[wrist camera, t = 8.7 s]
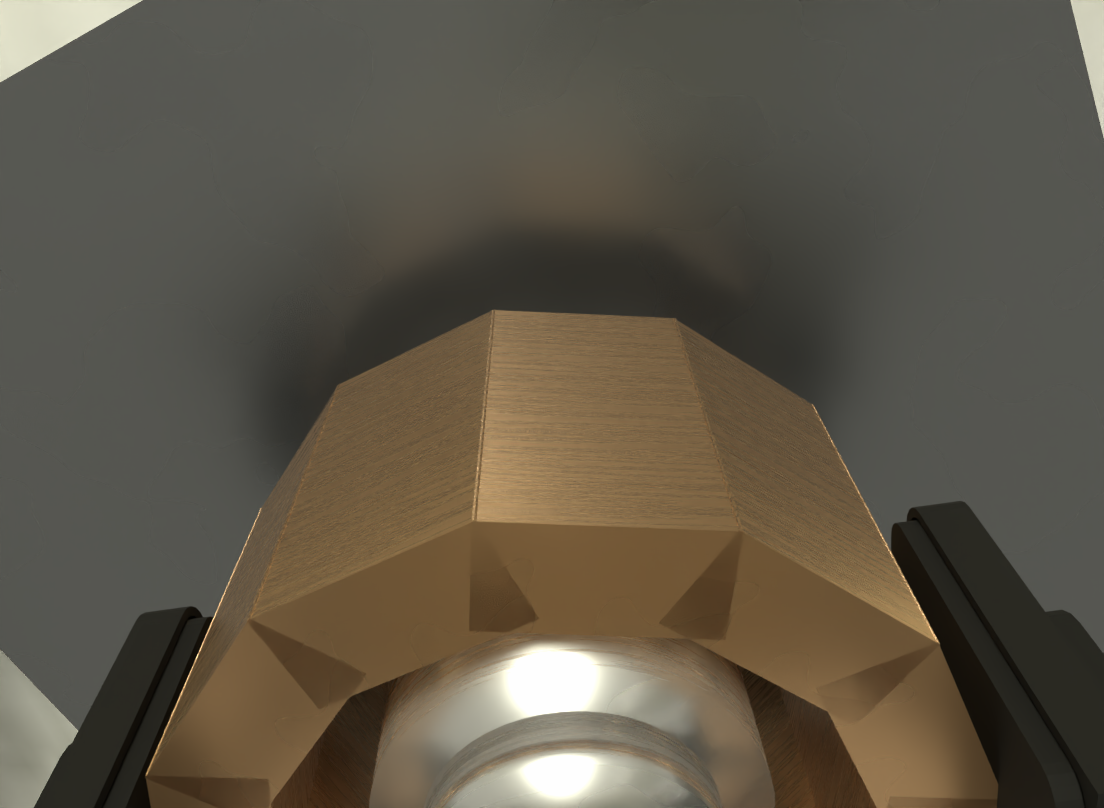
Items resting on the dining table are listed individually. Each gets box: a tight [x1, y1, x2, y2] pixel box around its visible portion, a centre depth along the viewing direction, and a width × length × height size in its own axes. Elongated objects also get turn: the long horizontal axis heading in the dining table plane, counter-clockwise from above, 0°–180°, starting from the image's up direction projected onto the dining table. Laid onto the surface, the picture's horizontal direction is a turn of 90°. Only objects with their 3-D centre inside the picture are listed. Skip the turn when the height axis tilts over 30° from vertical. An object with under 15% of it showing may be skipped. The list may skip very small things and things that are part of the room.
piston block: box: [0, 0, 1104, 808], centre depth 12 cm, size 16×16×7 cm
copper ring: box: [145, 309, 998, 808], centre depth 11 cm, size 7×7×4 cm
